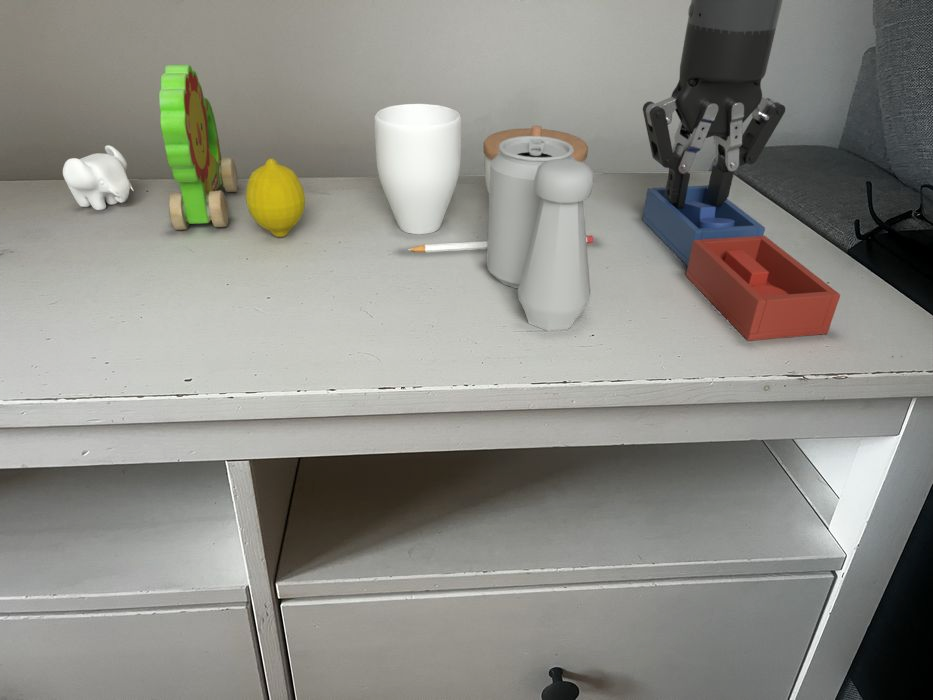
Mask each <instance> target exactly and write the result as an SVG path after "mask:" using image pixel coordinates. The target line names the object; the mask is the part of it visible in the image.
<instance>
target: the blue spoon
mask: <svg viewBox="0 0 933 700" xmlns="http://www.w3.org/2000/svg"><path fill="white" fill-rule="evenodd" d="M715 210H716V207H714V206H711V205H707V204H703V203H700V202H696V201H685V205H684V208H683V209H679V211H680V212H681V213H682V214H683V215H684V216H685V217H686V218H688V219H689V220H690V221H691V222H692V223H693V224H694V225H695V226H697V227H698V228H699V229H702V228H719V227H734V223H735V221H734V220H732V219H726V218H715Z"/></svg>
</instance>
